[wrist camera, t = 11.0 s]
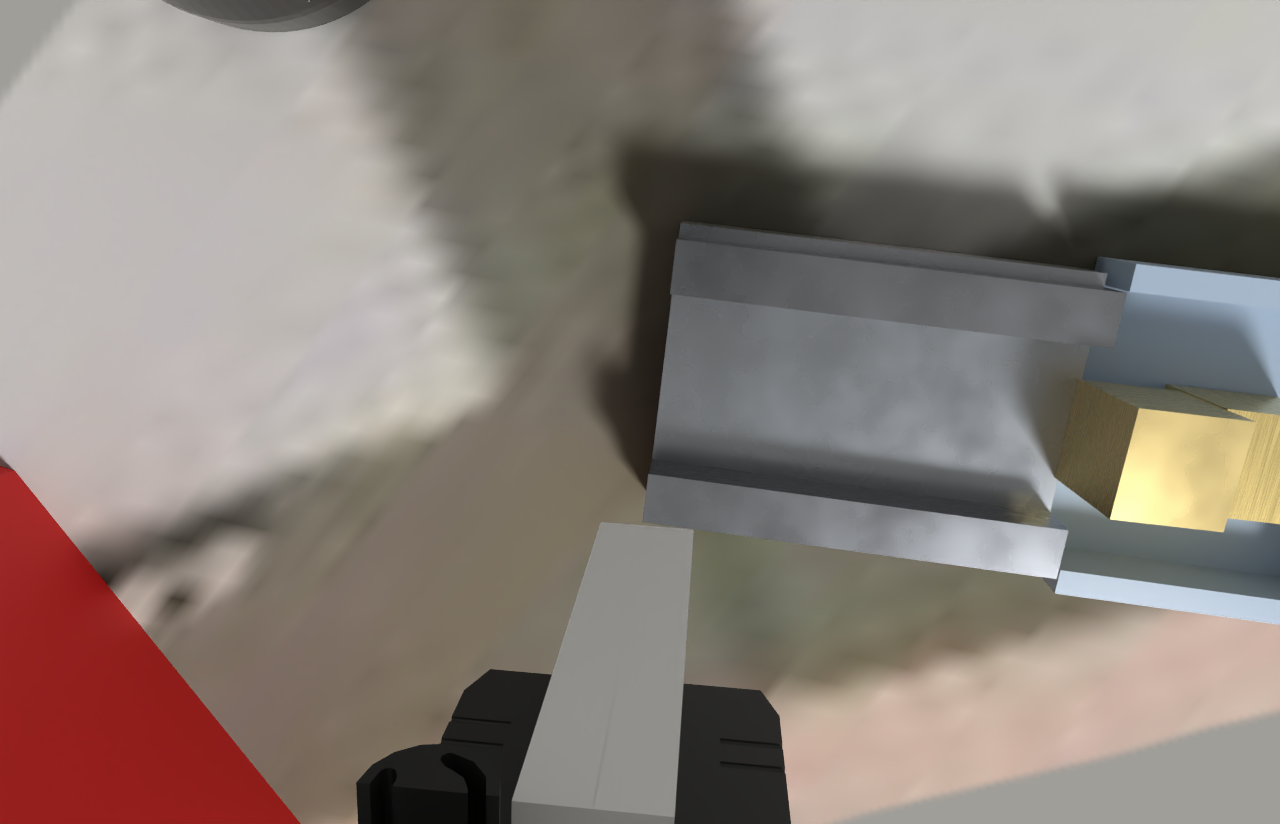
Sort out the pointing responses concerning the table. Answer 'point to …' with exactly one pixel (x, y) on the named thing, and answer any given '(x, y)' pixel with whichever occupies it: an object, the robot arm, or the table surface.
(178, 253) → the table surface
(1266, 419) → the brass block
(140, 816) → the book
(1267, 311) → the tray
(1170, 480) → the brass block
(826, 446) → the slotted deck
